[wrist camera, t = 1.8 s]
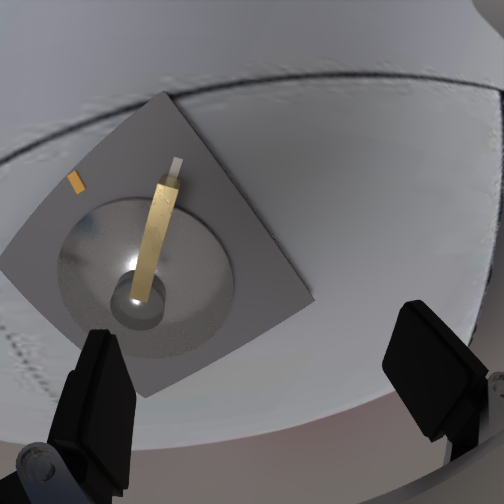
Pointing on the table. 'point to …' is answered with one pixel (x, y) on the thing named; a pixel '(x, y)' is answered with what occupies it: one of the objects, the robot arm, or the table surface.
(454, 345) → the robot arm
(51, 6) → the table surface
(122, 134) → the dial base
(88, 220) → the capstan dial
